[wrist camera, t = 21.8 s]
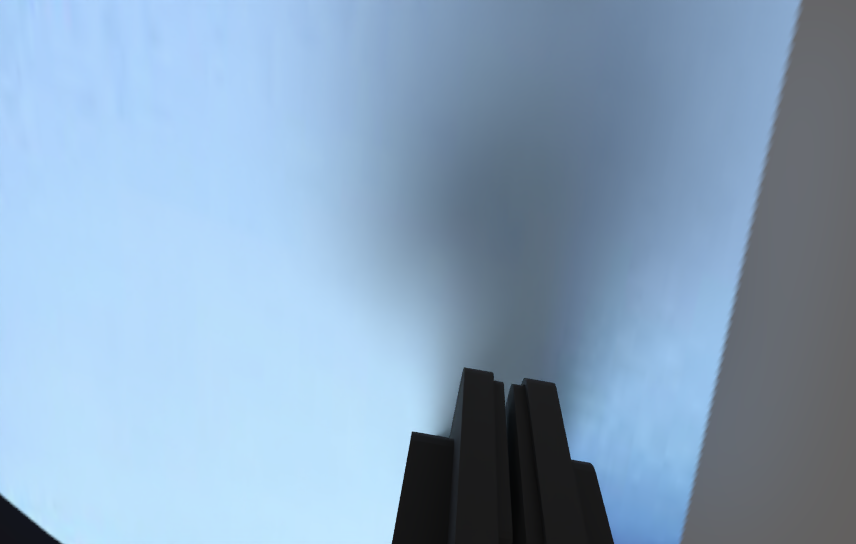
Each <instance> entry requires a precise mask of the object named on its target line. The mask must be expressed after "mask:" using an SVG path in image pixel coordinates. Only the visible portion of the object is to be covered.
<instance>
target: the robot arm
mask: <svg viewBox="0 0 856 544" xmlns="http://www.w3.org/2000/svg"><path fill="white" fill-rule="evenodd" d="M392 544H614V542H613V538H612V534H611V530H610V526H609V522H608V518H607V515H606V511H605V507H604V503H603V499H602V495H601V491H600V487H599V483H598V480H597V476H596V472H595V469H594V467H593V465H592V464H591V463H588V462H582V461H576V460H571V457H570V452H569V447H568V443H567V438H566V433H565V428H564V423H563V418H562V414H561V409H560V404H559V399H558V394H557V389H556V386H555V384H554V383H550V382H545V381H539V380H533V379H527V378H524V379H523V381H522V384H521V385H516V384H512V385H511V387H510V390H509V394H508V399H507V403H506V407H505V395H504V383H503V382H499V381H494V375H493V372H487V371H481V370H476V369H470V368H464V369H463V372H462V377H461V382H460V387H459V392H458V397H457V402H456V407H455V412H454V417H453V422H452V427H451V432H450V437H449V438H446V437H441V436H435V435H429V434H424V433H418V432H412V434H411V440H410V445H409V451H408V457H407V462H406V468H405V473H404V479H403V484H402V490H401V496H400V501H399V507H398V512H397V518H396V523H395V529H394V535H393V540H392Z"/></svg>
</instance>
